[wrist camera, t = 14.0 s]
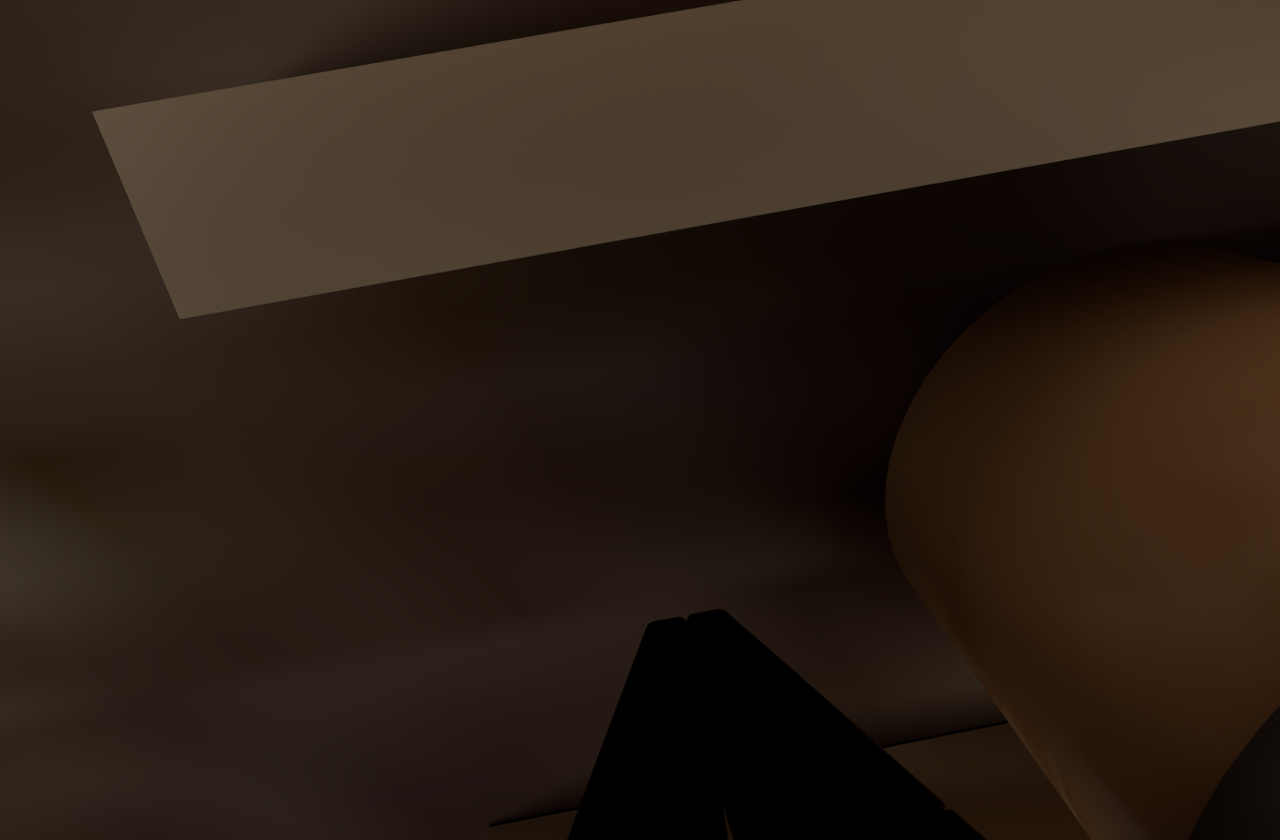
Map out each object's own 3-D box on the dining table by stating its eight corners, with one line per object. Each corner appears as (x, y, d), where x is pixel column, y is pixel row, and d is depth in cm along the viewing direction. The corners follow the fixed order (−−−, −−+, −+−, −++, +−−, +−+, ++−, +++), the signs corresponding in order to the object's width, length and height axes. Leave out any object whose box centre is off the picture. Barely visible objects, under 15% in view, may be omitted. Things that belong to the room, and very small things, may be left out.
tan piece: (1545, 680, 13) (1756, 806, 11) (508, 890, 12) (497, 1071, 10) (1920, -187, 8) (2458, -295, 6) (231, 104, 8) (92, 112, 5)
